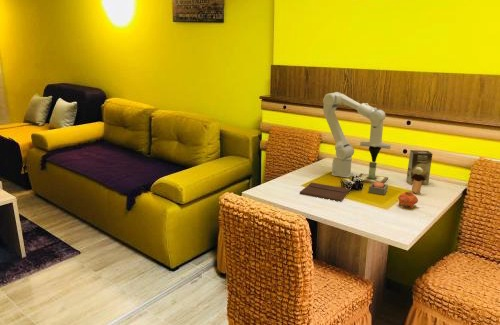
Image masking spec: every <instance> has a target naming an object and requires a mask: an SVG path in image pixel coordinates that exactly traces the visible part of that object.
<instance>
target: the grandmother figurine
mask: <svg viewBox="0 0 500 325" xmlns="http://www.w3.org/2000/svg"><path fill="white" fill-rule="evenodd" d="M415 170H416V174H414V175H412V176H411V178H410V180H409V181H412V179H414V181H413V184H411V185H412V186H411V190H410V191H409V192H410V193H413V194H416V195H420V194H421V189H422V185H421V180H423V181H424V183H425V184H426V183H427V182H426V179H425V177H424V176H422V175H420V174H421V173H422V172H423V170H422V168H421V167H417V168H416V169H415Z"/></svg>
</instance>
